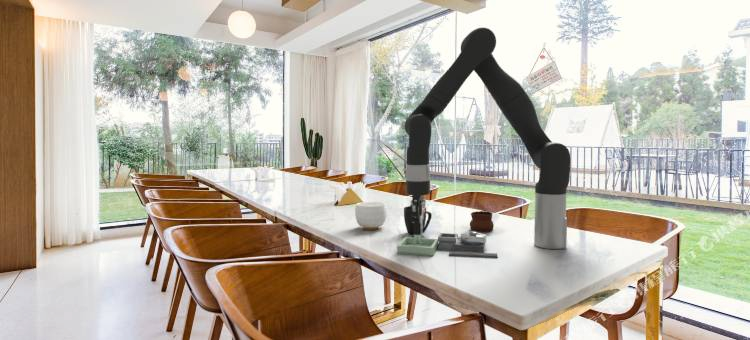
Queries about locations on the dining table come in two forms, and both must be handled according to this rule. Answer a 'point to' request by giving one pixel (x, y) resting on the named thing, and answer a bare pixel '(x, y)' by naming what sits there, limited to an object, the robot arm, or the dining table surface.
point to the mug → (410, 224)
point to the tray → (417, 246)
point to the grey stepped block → (462, 242)
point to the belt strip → (473, 254)
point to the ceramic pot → (481, 221)
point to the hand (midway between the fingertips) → (418, 233)
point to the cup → (370, 214)
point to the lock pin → (418, 237)
